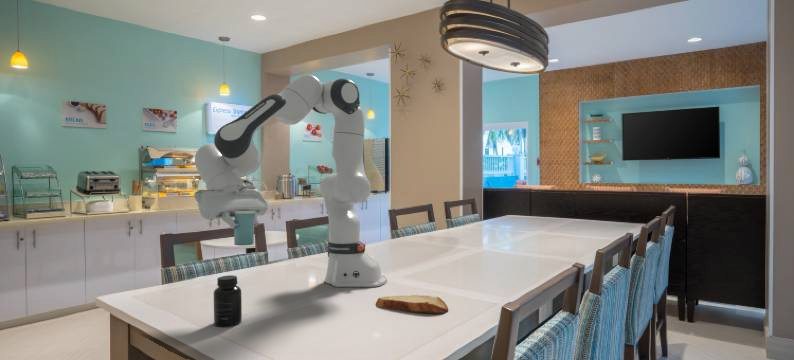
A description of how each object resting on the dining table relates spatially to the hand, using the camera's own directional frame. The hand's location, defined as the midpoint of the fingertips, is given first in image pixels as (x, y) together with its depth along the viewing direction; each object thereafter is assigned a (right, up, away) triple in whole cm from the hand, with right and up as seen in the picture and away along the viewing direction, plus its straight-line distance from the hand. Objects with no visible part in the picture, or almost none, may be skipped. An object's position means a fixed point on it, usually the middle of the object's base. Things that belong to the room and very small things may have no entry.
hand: (245, 226), depth 127 cm
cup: (-1, -5, 0) cm, 5 cm away
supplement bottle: (-2, -25, -9) cm, 26 cm away
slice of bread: (+47, -25, +5) cm, 53 cm away
